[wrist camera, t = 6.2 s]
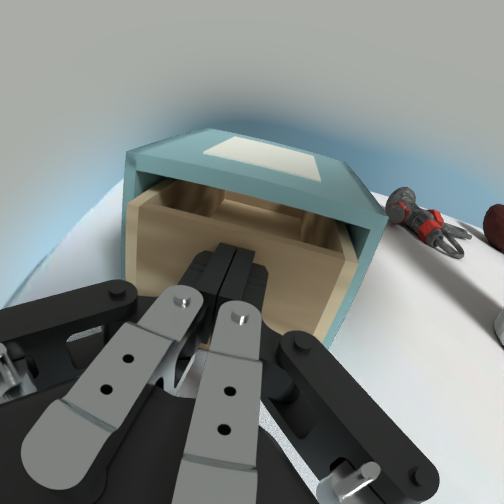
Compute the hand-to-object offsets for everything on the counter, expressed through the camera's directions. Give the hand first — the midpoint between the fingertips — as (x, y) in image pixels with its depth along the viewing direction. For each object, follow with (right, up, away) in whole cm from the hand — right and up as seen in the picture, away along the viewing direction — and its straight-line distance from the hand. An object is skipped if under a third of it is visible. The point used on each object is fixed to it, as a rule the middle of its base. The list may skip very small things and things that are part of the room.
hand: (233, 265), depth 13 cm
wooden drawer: (0, 0, +13) cm, 13 cm away
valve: (+34, +2, +34) cm, 48 cm away
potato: (+60, +1, +43) cm, 73 cm away
